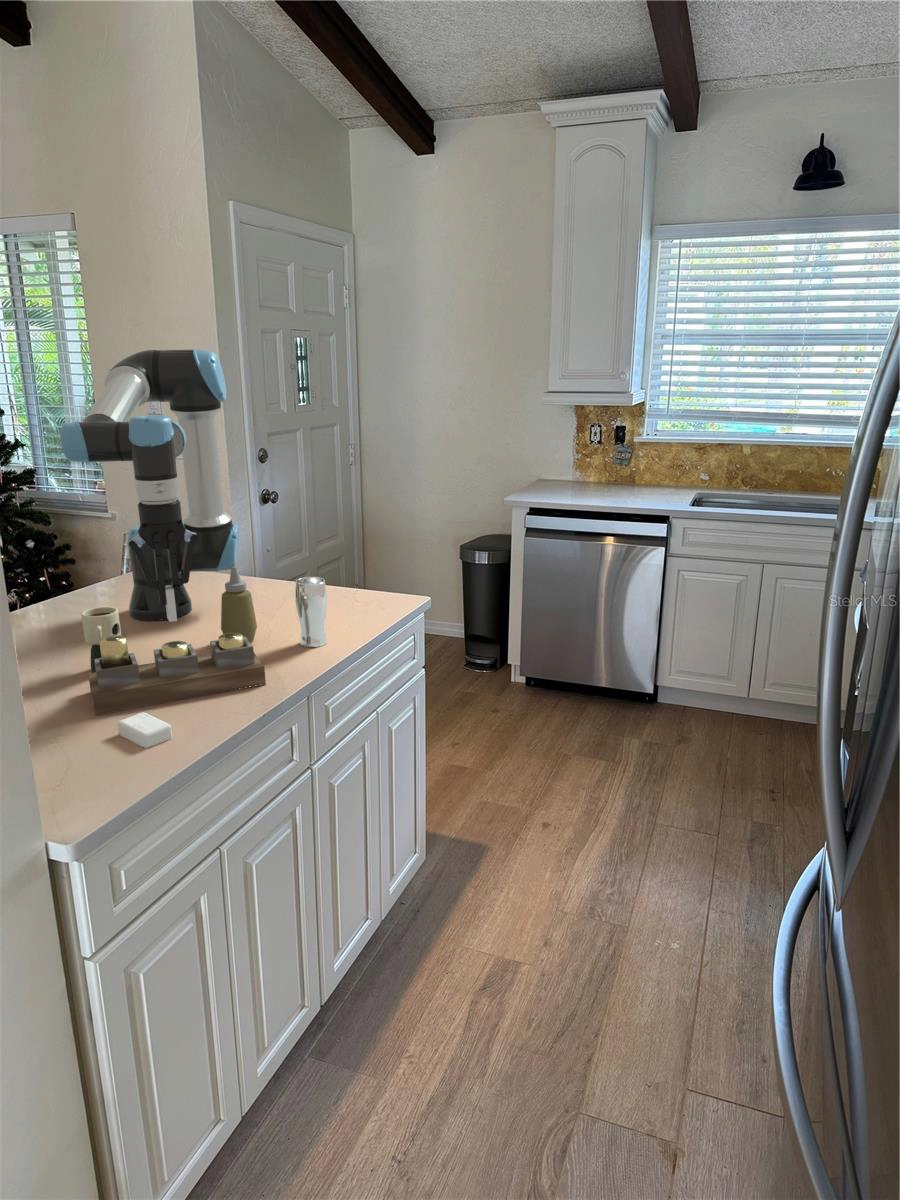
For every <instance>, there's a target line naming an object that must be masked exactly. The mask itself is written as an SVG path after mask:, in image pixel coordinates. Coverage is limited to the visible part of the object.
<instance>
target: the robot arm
mask: <svg viewBox="0 0 900 1200" xmlns="http://www.w3.org/2000/svg"><path fill="white" fill-rule="evenodd" d="M227 396H228V395H227V386H226V380H225V375H224V371H223V368H222V365H221V361H220V359H219V357H218V355H217V354H216V353H215V352H213V351H212V350H206V349H196V348H195V349H162V350H161V349H158V350H157V349H149V350H148V349H147V350H142V351H139V352H136V353H133V354H131V355H129V356H127V357H125V358H124V359H122V360H120V361H119V362H117V363H116V364H115V365H114V366H113V367H112V368H110V370H109V371H108V373H107V374H106V377H105V379H104V388H103V390H102V391H101V393H100V394H99V396H98V398H97V399H96V401H95V403H94V404H93V406H92V407H91V408H90V411H89V412H88V413H87V414H86V417H85V418H84V420H83V421H77V420H76V421H74V422H66V423H64V424H63V425H62V427H61V429H60V433H59V435H60V436H59V439H60V446H61V451H62V453H63V455H64V457H65V459H66V460H68V461H69V462H75V463H86V464H87V463H106V462H107V463H109V462H110V463H111V462H132V467H133V473H134V484H135V485H134V486H135V493H136V499H137V500H138V501H139V503H138V504H137V509H138V518H139V524H138V525H135V526H134V527H132V528H131V529H130V530H129V531H128V539H127V541H126V542H127V544H128V546H127V547H128V549H129V557H130V564H131V565H130V566H131V573H132V581H133V588H132V593H131V597H130V600H129V606H128V608H129V609H128V610H129V615H130V617H131V618H132V617H133V619H135V620H138V621H146V622H147V621H149V622H150V621H151V622H152V621H155V620H156V621H165V620H168V622H169V623H172V622H178V618H179V617H182V616H186V615H187V614H189V613H190V612H191V611H192V610H193V606H192V600H191V597H190V595H189V593H188V591H187V589H186V587H185V585H186V584H188V583H189V581H190V575H191V573H192V572H193V573H194V572H195V573H196V572H220V571H231V567H236V565H237V561H238V555H239V545H240V526H239V525H238V524H236V523H233V521H232V520H233V519H232V516H231V515H230V514H229V513H228V512H226V511H225V501H224V492H223V484H222V482H223V481H222V473H221V472H222V470H221V462H220V451H219V443H218V442H219V441H218V431H217V430H218V429H217V421H216V420H217V419H216V416H217V414H218V413H219V412H220V411H221V409H222V406H221V405H222V404H221V403H223V402H226V400H227V398H228V397H227ZM150 402H151V403H152V402H157V403H158V402H160V403H161V402H163V403H166V402H168V403H169V410H170V412H172V413H173V414H174V415H175V416H176V417H177V420H178V422H176V421H175V420H172V419H171V418H170V417H169V416H168V415H164V414H143V415H135V413H136V411H137V410H138V408H139V407H141V406H143V405H144V404H145V403H150ZM181 454H182V455H181ZM180 455H181V456H182V463H183V465H182V466H183V471H184V472H183V473H184V482H185V491H186V499H187V507H188V509H187V510H188V515H187V516H186V517H185V518H184V519H183V515H182V506H181V501H179V497H180V489H179V488H180V487H179V480H178V471H177V459H176V458H177V457H179V456H180Z"/></svg>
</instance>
